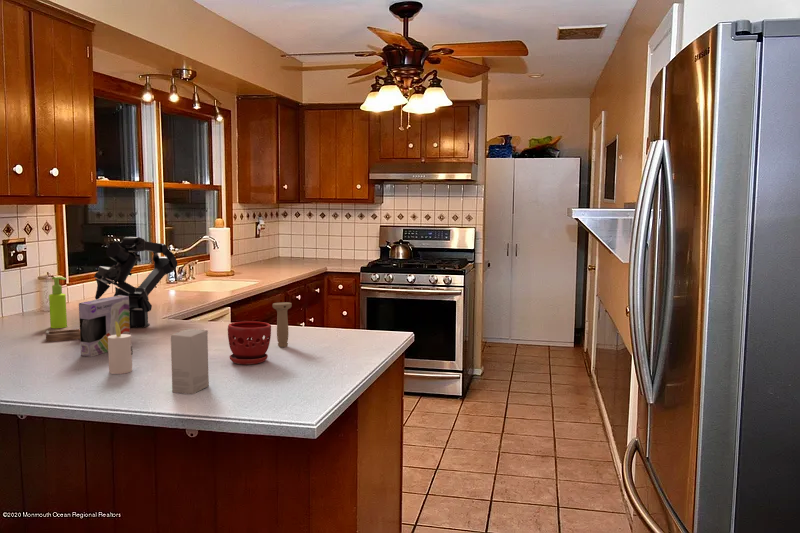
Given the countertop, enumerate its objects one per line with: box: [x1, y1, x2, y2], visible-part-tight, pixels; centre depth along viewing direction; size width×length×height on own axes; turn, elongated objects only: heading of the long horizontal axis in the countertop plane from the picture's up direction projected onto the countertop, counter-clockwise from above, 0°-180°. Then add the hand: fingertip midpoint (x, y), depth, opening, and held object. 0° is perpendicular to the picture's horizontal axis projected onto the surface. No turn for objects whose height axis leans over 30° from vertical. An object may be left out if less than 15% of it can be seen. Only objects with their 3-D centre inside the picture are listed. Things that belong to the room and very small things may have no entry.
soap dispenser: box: [48, 276, 68, 329], centre depth 268 cm, size 6×7×20 cm
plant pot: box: [227, 321, 272, 366], centre depth 210 cm, size 13×13×12 cm
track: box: [45, 328, 80, 343], centre depth 247 cm, size 16×7×4 cm, turn 116°
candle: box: [107, 321, 133, 375], centre depth 198 cm, size 6×6×15 cm
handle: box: [272, 301, 292, 348], centre depth 232 cm, size 5×6×15 cm
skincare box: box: [170, 328, 210, 395], centre depth 178 cm, size 8×7×16 cm
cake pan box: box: [78, 295, 131, 358], centre depth 225 cm, size 19×5×18 cm, turn 160°
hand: (103, 302), depth 258 cm, fingers open, 9 cm apart
